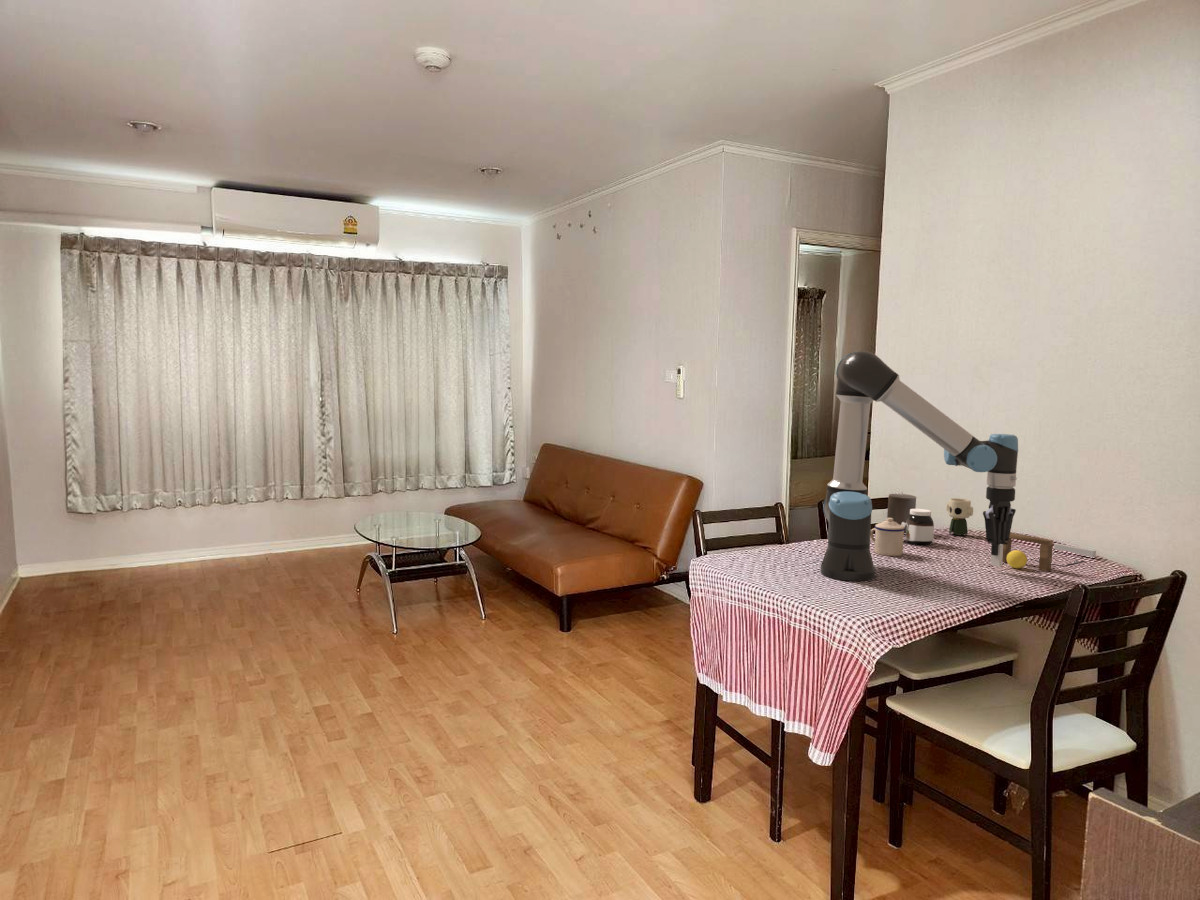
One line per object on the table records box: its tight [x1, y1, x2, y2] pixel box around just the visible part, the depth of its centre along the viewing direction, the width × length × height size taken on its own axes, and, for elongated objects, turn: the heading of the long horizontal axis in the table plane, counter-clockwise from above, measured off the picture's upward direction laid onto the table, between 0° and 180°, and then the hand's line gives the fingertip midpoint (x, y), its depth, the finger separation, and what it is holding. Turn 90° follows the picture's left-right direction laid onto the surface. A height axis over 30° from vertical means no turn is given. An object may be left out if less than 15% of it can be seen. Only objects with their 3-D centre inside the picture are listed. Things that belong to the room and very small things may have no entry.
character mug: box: [946, 498, 974, 536], centre depth 279 cm, size 11×7×13 cm, turn 27°
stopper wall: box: [1053, 543, 1097, 558], centre depth 250 cm, size 2×12×2 cm, turn 31°
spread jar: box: [901, 508, 935, 546], centre depth 266 cm, size 12×11×12 cm
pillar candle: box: [886, 492, 917, 533], centre depth 283 cm, size 10×10×15 cm
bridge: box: [1002, 531, 1054, 572], centre depth 234 cm, size 3×14×9 cm, turn 31°
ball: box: [1006, 549, 1028, 569], centre depth 231 cm, size 6×6×6 cm
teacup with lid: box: [870, 518, 905, 557], centre depth 250 cm, size 12×9×12 cm
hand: (996, 565), depth 227 cm, fingers closed
